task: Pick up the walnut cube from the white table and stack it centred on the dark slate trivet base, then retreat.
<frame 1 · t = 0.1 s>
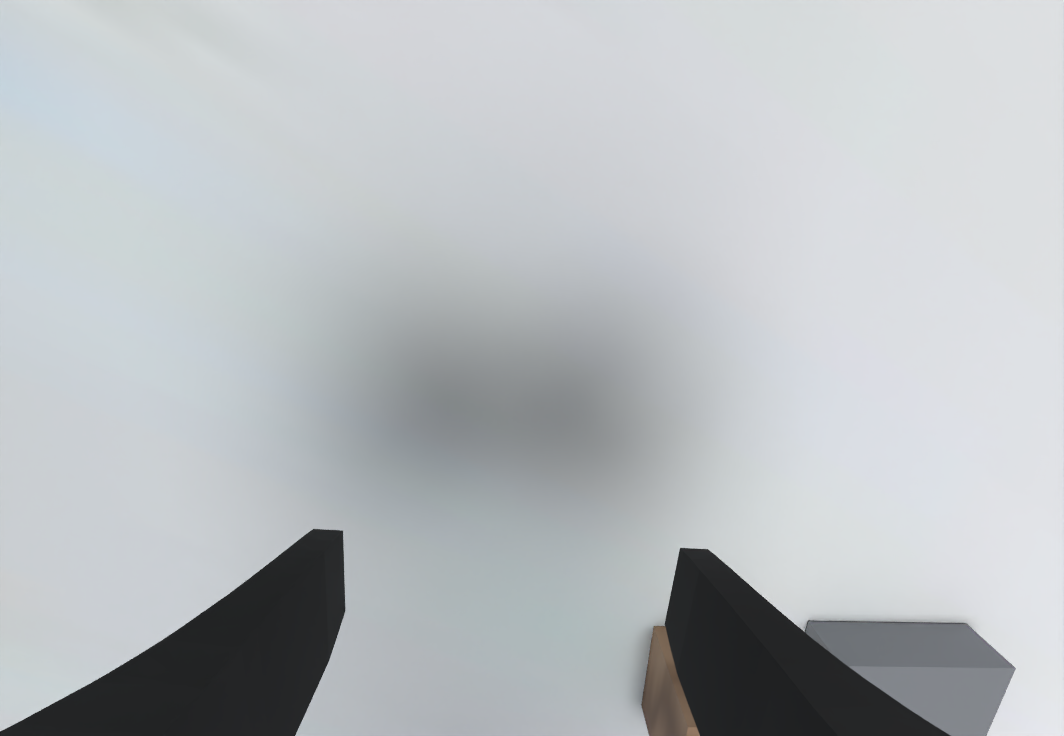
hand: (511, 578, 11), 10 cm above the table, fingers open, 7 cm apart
slate base: (867, 685, 25), on the table
walnut cube: (696, 665, 25), on the table
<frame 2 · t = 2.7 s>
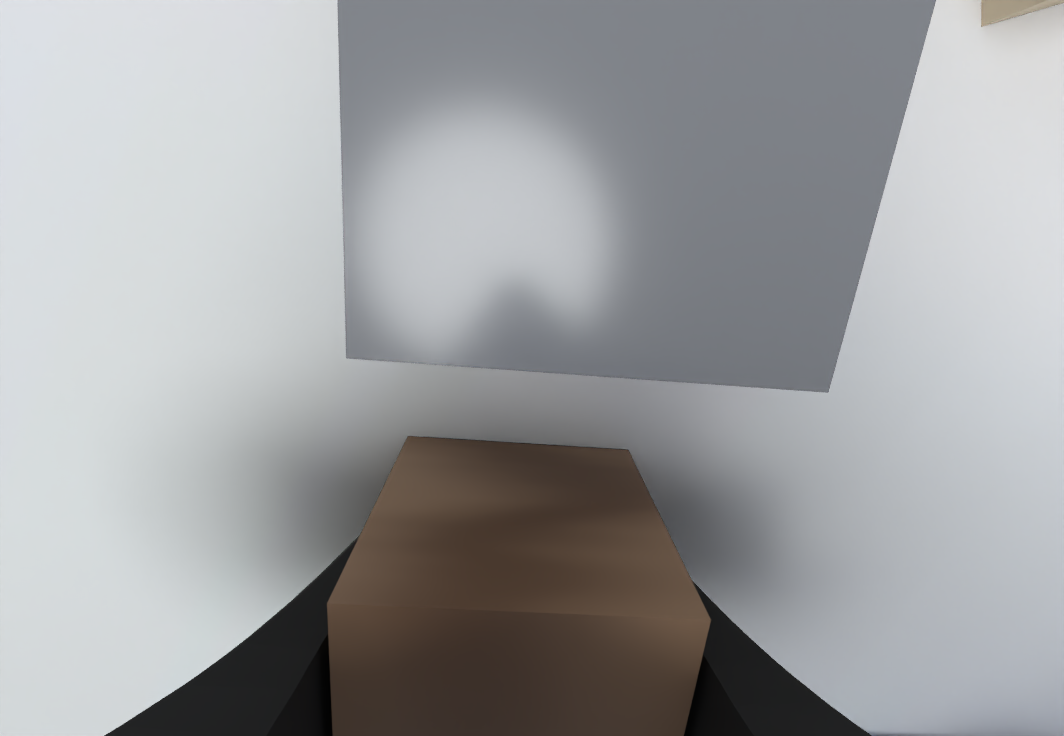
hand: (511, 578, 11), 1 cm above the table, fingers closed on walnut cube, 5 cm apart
slate base: (599, 134, 9), on the table
walnut cube: (511, 537, 12), on the table, touching gripper
when the fingers open (5 cm above the table, at t = 5.7 s): walnut cube stays where it is, resting on slate base.
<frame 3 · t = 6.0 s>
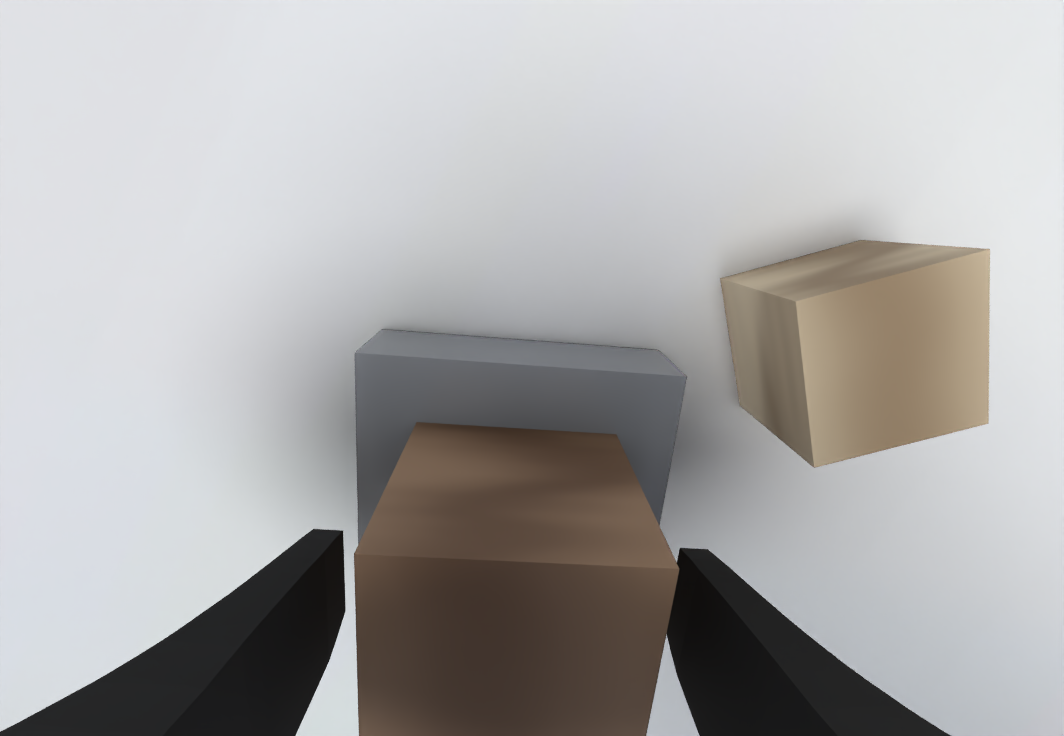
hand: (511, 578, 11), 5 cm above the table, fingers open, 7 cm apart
slate base: (512, 464, 15), on the table
walnut cube: (510, 515, 13), point 2 cm above the table, touching slate base
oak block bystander: (796, 326, 15), on the table
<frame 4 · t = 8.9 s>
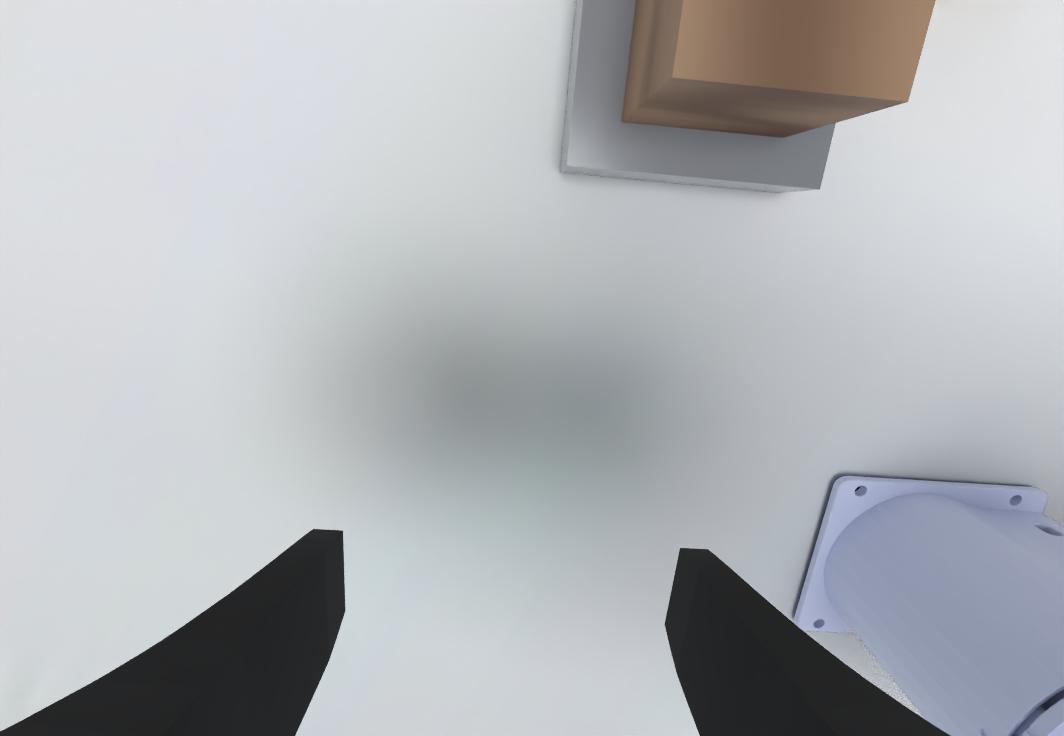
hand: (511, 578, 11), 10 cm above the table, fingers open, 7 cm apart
slate base: (690, 55, 17), on the table
walnut cube: (718, 34, 14), point 2 cm above the table, touching slate base
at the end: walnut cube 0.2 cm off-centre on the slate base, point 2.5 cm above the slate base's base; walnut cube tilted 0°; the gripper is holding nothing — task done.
